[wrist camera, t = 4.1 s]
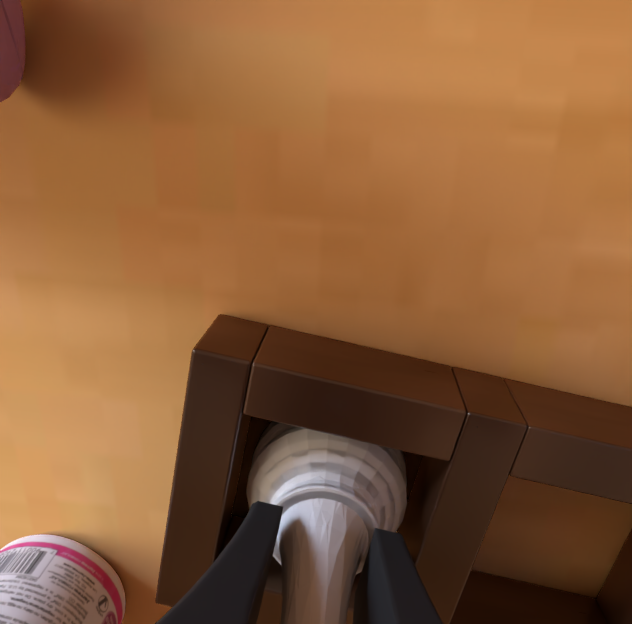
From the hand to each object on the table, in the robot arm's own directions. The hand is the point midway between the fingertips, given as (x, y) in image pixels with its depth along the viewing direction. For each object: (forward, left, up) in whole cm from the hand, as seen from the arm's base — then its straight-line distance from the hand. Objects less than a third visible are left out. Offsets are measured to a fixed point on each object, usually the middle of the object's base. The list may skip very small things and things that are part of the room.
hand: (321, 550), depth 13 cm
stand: (-3, 0, -3) cm, 5 cm away
